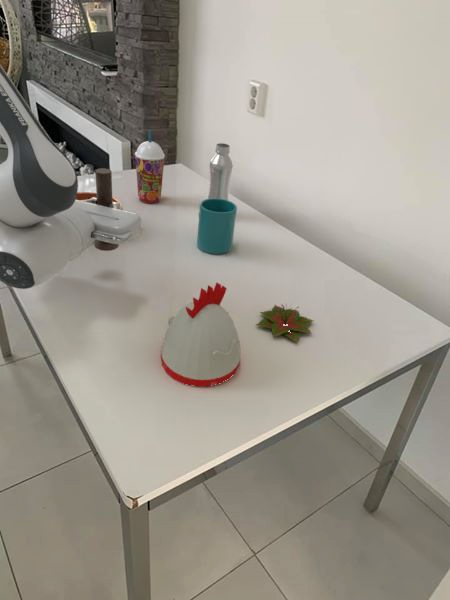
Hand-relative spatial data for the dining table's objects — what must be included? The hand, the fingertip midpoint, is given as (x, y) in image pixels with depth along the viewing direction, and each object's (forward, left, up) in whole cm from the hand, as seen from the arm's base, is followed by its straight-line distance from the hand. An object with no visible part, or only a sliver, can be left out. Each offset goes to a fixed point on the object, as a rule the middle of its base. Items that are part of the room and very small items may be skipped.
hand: (106, 203), depth 91 cm
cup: (+23, +17, -16) cm, 33 cm away
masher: (0, -1, -9) cm, 9 cm away
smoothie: (+5, +43, -16) cm, 46 cm away
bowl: (-9, +22, -16) cm, 29 cm away
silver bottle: (+25, +36, -16) cm, 47 cm away
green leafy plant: (+37, -16, -16) cm, 43 cm away
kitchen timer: (+20, -27, -16) cm, 37 cm away
